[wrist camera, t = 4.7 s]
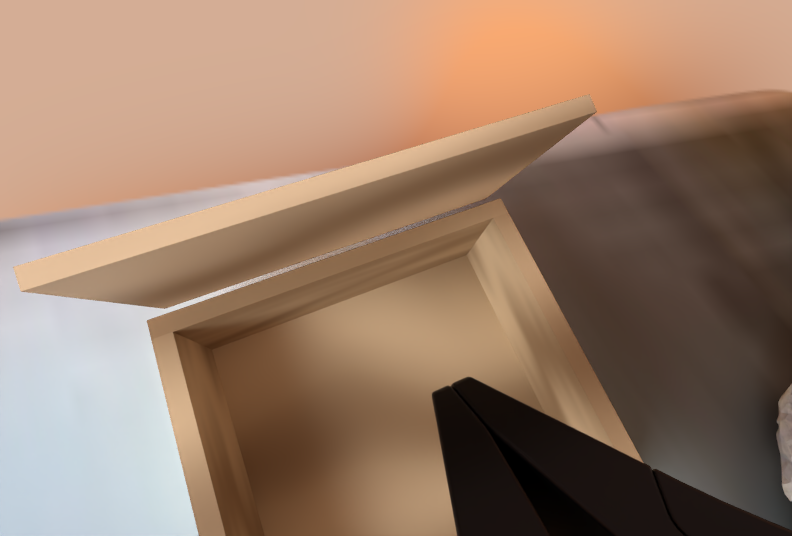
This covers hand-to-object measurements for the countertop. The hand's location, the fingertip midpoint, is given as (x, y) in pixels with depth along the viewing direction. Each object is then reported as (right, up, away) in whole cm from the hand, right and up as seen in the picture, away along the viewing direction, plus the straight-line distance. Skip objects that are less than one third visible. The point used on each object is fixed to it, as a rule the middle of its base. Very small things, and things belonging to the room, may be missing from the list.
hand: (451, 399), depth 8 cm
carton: (-1, -4, +7) cm, 8 cm away
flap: (-2, +4, +2) cm, 5 cm away
